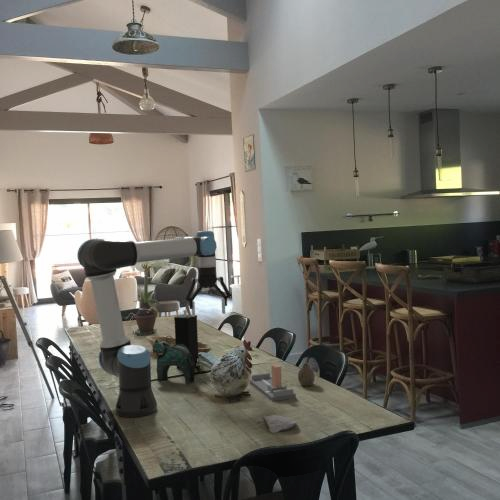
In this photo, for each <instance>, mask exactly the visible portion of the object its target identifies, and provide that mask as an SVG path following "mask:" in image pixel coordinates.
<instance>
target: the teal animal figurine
mask: <svg viewBox="0 0 500 500" xmlns="http://www.w3.org/2000/svg"><path fill="white" fill-rule="evenodd" d="M168 337H169V338H171V339H172V340H173V336H171V335H167V336H166V337H165V340H161V341H159V340H158V339H155V341H154V344H153V345H152V353H153V355H154V356H155V357H157V360H156V374H157V376H156V378H157V381H165V380H167V379H168V378H169V375H168V374H169V370H170V367H171V366H174V367H177V366H178V367H180V368H181V369H180V370H182V373H183V377H184V379H185V380H184V381H185V384H192V383H195V376H196V367H195V366H194V361H193V357H192V355H191V353H190V352H189V349H188V348H187V347H186V346H184V345H182V344H176V343H175V344H173V345H170V344H169V343H168ZM176 345H181V346H176ZM182 346H184V347H182Z"/></svg>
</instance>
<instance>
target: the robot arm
mask: <svg viewBox="0 0 500 500" xmlns="http://www.w3.org/2000/svg"><path fill="white" fill-rule="evenodd" d="M217 245H218V244H217V241H216V240H215V232H214V231H212V230H203V231H202V230H200V231H197V232H196V235H194V236H193V235H191V236H177V237H174V238H172V239H170V238H169V239H160V240H159V239H158V240H148V241H136V242H135V241H134V240H132V239H130V240H129V239H128V240H127V239H126V240H121V239H120V240H119V239H111V238H91V239H88V240H85V241H84V242H82V243H81V245H80V246H79V247H78V250H77V254H76V255H77V260H78V263H79V264H80V265H81V267H83V271H84V275H85V278H86V279H88V280H90V284H91V289H92V293H93V299H94V303H95V308H96V313H97V317H98V318H97V320H98V322H99V328H100V329H99V330H100V332H101V338H102V340H101V342H100V344H99V348H100V350H99V353H98V363H99V364H98V365H99V366H100V367H101V369H102V370H103V371H104V372H105V373H106V374H108V375H110V376H114V377H116V378H118V384H119V385H118V386H119V387H118V388H119V389H118V390H119V392H118V396H117V399H116V403H115V414H116V415H117V416H119V417H121V418H123V417H124V418H139V417H145V416H148V415H151V414H154V413H155V412H156V411H157V410H158V403H157V399H156V397H155V394H154V392H153V389H152V373H151V371H152V369H151V368H152V367H151V354H150V350H149V349H148V347H145V346H143V345H138V344H137V345H136V344H131V339H130V337H129V336H127V335H126V334H125V329H124V323H123V319H122V313H121V307H120V303H119V297H118V293H117V287H116V283H115V277H114V275H116V273H117V269H121V268H127V267H134V266H136V265H137V264H138V263H147V262H154V261H161V260H171V259H178V258H179V259H180V258H188V257H197V264H198V266H199V267H198V272H197V273H198V274H197V275H198V278H191V280H190V281H191V282H190V286H189V288H188V290H187V292H186V293H185V294H186V295H185V297H184V300H185V301H186V302H187V301H188V305H189V307H188V308H189V310H191V315H192V316H193V317H195V315H196V306H195V305H196V303H195V301H194V300H195V298H196V297H197V296H198V294H199V293H200V292H201V290H203V288H204V289H211V288H214V289H215V291H217V293H218V294H219V295H220V296H221V314H223V315H226V307H227V306H228V298H231V296H232V294H231V292H230V291H229V289H228V287H227V285H226V283H225V281H224V277H223V276H218V277H217V272H216V271H217V270H216V269H217V267H216V252H217V251H216V250H217ZM217 281H218V282H219V284H220V285H221V287H222V290H221V288H219V286H218V285H217V284H216V282H217ZM197 283H198V284H199V285H198V286H197V287H196V288H195V285H196V284H197ZM194 288H195V290H194ZM193 290H194V291H193ZM223 290H224V292H225V293H224V292H223Z"/></svg>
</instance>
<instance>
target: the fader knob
mask: <svg viewBox="0 0 500 500" xmlns="http://www.w3.org/2000/svg"><path fill="white" fill-rule="evenodd" d="M270 366H271V377H272V385H268V389H269V390H270V391H271V392H273V391H276V390H283V389H286V387H287V386H286V385H285V384H283V383H282V366H281V365H279V364H276V363H275V364H271V365H270Z"/></svg>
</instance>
